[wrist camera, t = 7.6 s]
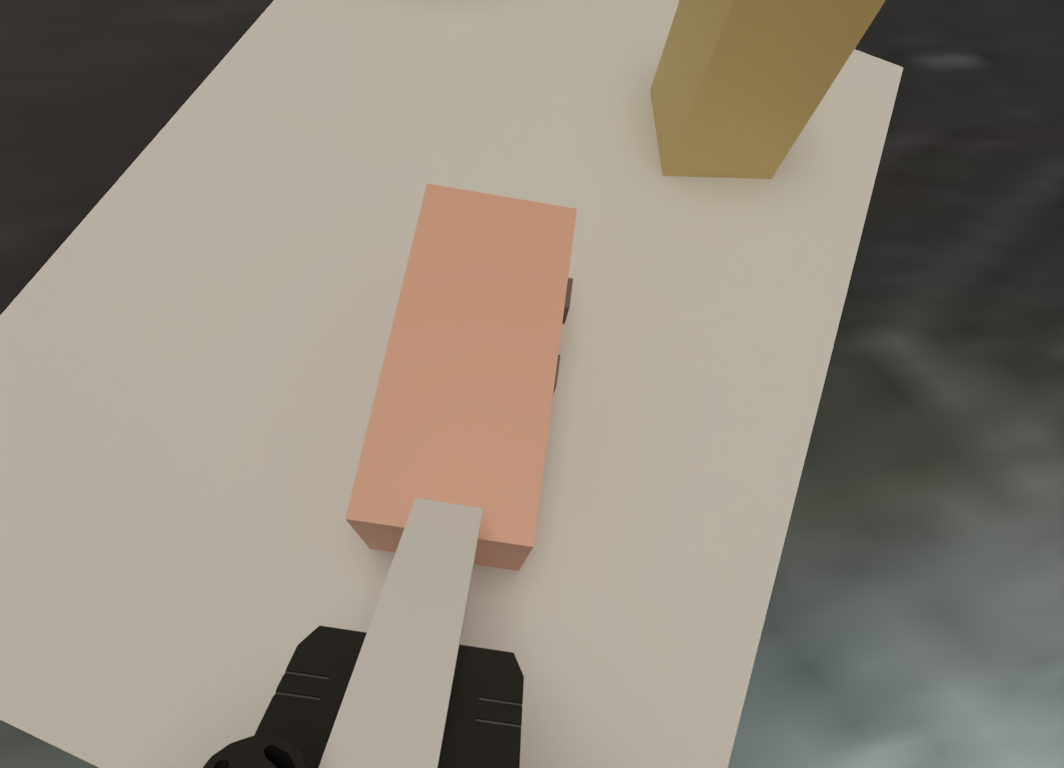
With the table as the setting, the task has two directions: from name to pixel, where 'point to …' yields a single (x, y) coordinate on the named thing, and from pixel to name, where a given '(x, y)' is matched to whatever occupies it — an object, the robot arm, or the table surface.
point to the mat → (355, 366)
